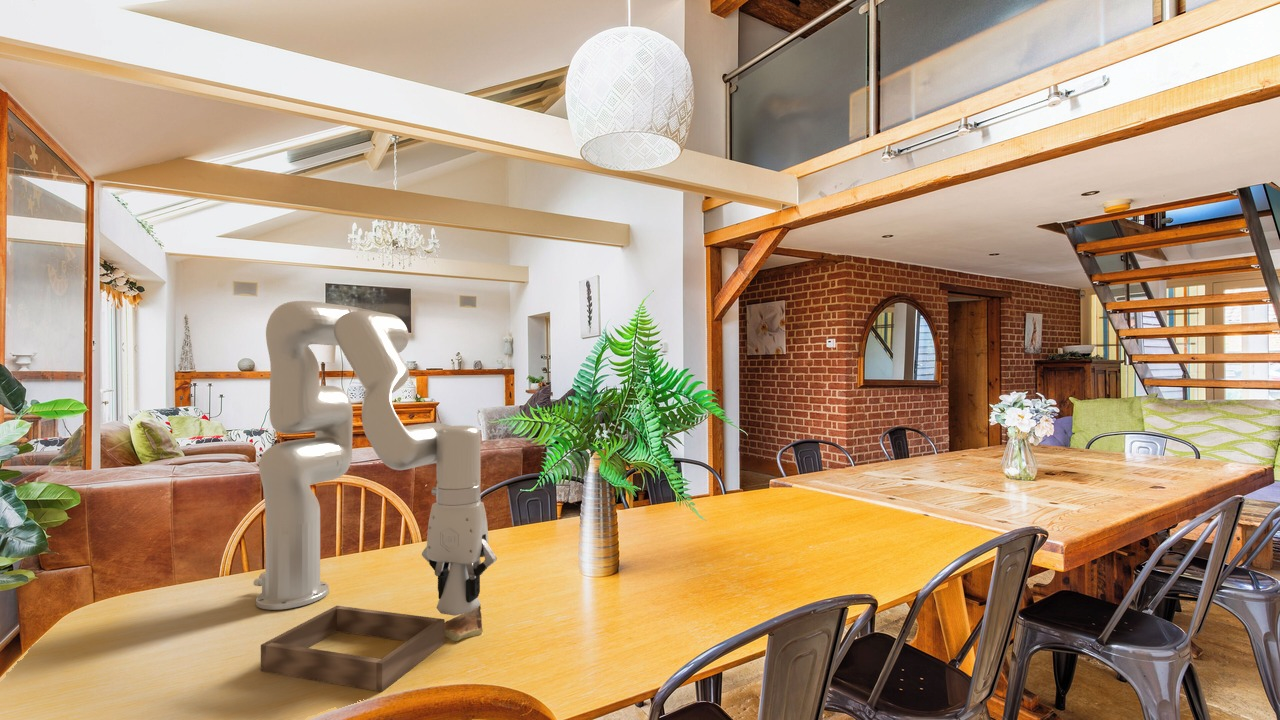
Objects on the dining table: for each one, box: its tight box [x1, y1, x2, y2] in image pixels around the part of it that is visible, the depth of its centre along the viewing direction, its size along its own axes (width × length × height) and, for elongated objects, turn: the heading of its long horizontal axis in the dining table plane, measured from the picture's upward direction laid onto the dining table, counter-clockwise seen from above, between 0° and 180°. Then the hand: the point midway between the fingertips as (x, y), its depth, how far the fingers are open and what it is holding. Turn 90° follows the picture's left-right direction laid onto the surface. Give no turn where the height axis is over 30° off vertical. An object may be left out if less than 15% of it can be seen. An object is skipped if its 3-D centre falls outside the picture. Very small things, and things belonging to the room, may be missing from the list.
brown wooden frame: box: [260, 605, 446, 693], centre depth 93 cm, size 22×15×4 cm
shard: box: [445, 605, 484, 642], centre depth 103 cm, size 11×8×2 cm
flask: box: [435, 563, 482, 617], centre depth 103 cm, size 7×7×10 cm
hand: (458, 596), depth 103 cm, fingers closed on flask, 4 cm apart
